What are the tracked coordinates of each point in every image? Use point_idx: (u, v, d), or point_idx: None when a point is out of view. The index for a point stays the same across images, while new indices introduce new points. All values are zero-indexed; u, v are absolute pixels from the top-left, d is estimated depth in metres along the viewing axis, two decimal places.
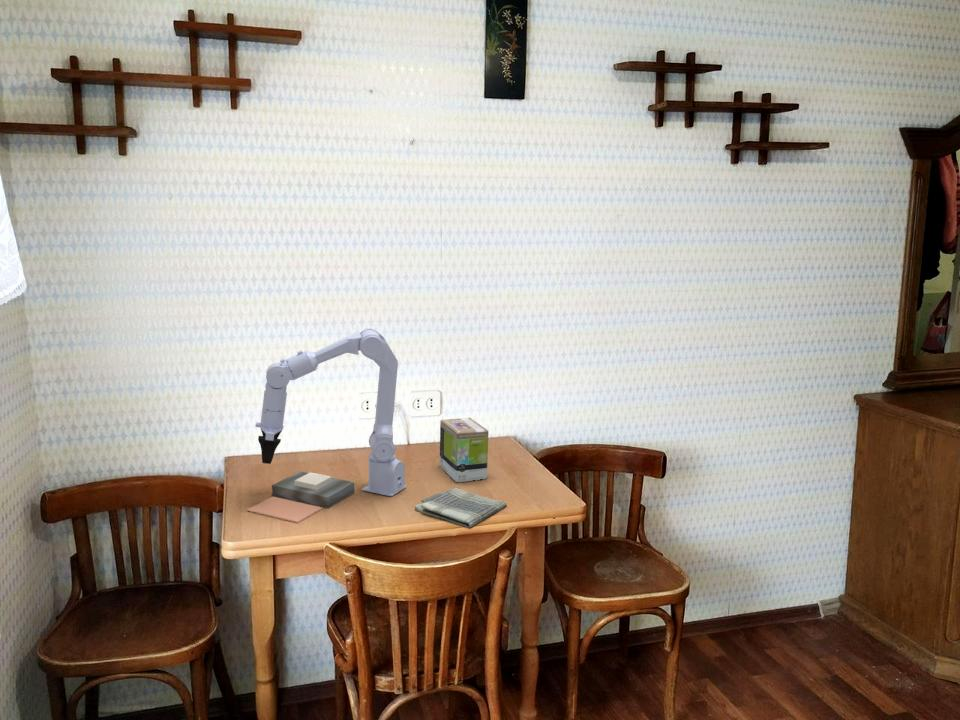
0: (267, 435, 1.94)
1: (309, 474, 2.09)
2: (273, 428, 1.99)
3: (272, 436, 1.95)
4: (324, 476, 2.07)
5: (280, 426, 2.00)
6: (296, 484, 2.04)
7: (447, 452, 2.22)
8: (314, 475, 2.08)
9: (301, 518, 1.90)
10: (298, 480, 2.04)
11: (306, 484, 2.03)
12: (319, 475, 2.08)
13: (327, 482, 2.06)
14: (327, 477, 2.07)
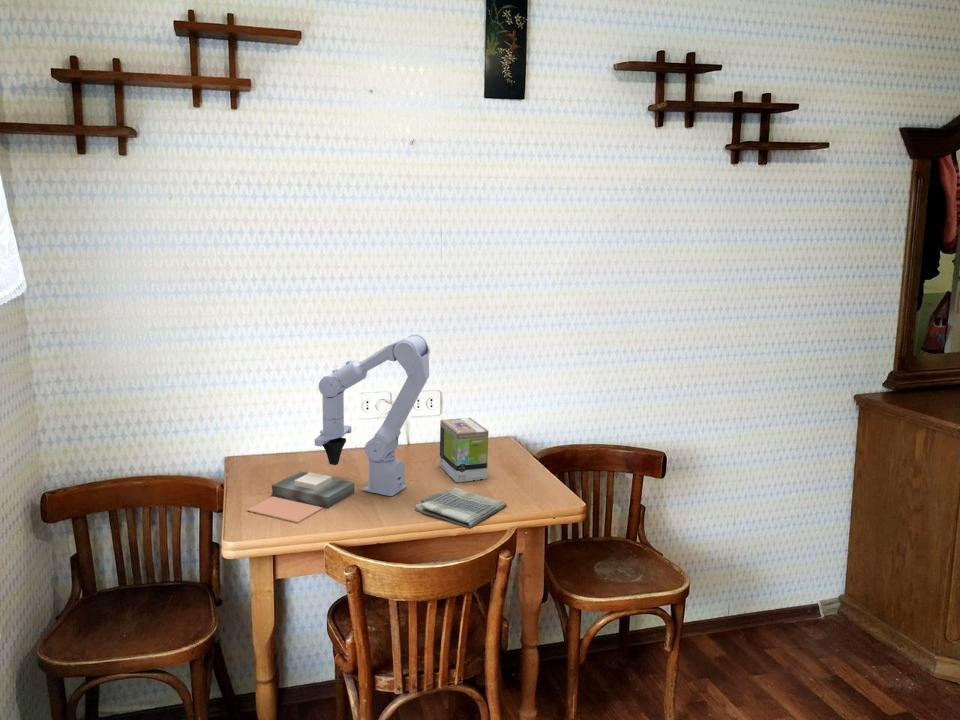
0: (315, 441, 2.06)
1: (309, 474, 2.09)
2: (329, 435, 2.09)
3: (319, 442, 2.06)
4: (324, 476, 2.07)
5: (336, 434, 2.10)
6: (296, 484, 2.04)
7: (447, 452, 2.22)
8: (314, 475, 2.08)
9: (301, 518, 1.90)
10: (298, 480, 2.04)
11: (306, 484, 2.03)
12: (319, 475, 2.08)
13: (327, 482, 2.06)
14: (327, 477, 2.07)
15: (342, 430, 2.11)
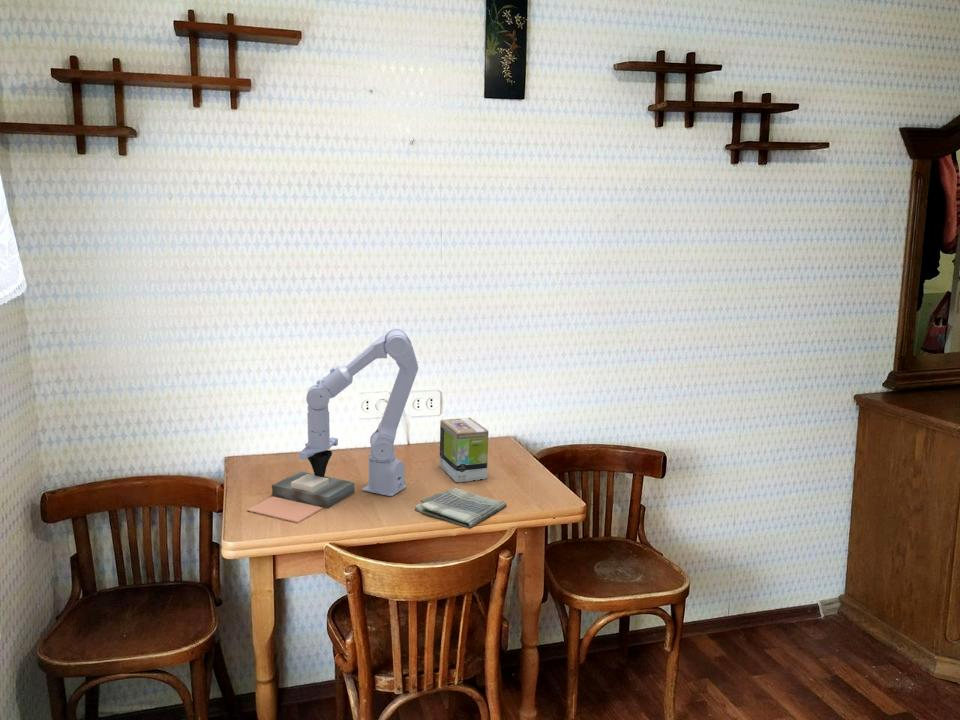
0: (300, 454, 2.00)
1: (306, 476, 2.07)
2: (314, 448, 2.04)
3: (304, 456, 2.00)
4: (321, 478, 2.06)
5: (322, 446, 2.04)
6: (292, 486, 2.03)
7: (447, 452, 2.22)
8: (311, 477, 2.07)
9: (301, 518, 1.90)
10: (294, 482, 2.03)
11: (303, 486, 2.01)
12: (316, 477, 2.07)
13: (324, 484, 2.04)
14: (324, 479, 2.05)
15: (328, 443, 2.05)
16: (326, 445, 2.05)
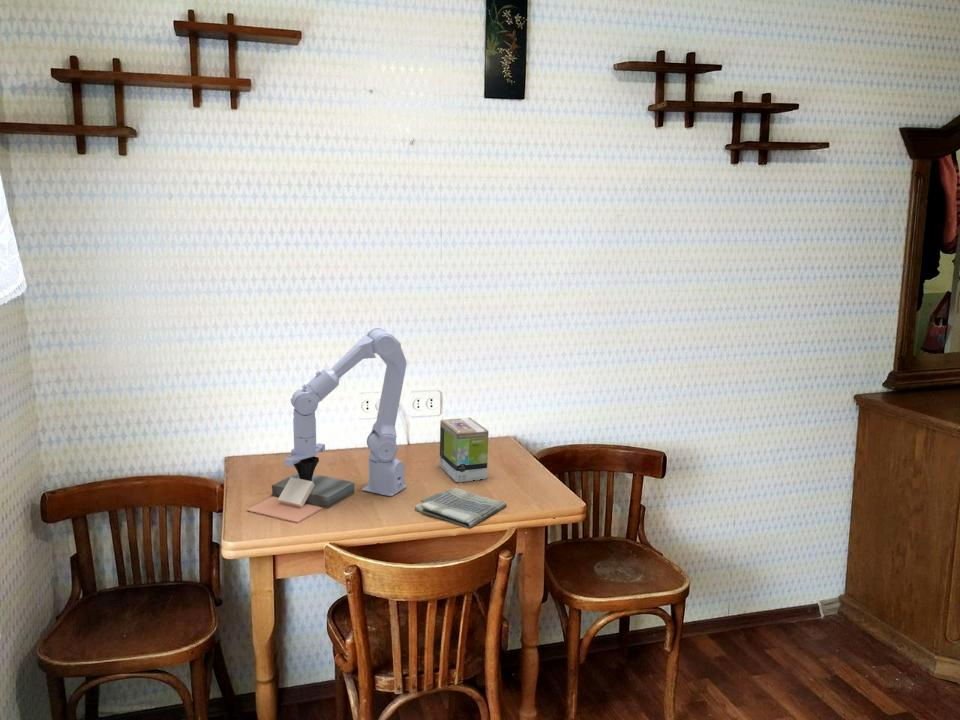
0: (285, 461, 1.95)
1: (290, 482, 2.01)
2: (300, 454, 1.98)
3: (289, 462, 1.95)
4: (305, 483, 2.00)
5: (308, 453, 1.99)
6: (281, 502, 1.99)
7: (447, 452, 2.22)
8: (295, 483, 2.01)
9: (301, 518, 1.90)
10: (281, 498, 1.98)
11: (290, 503, 1.97)
12: (300, 482, 2.01)
13: (310, 490, 1.99)
14: (308, 484, 1.99)
15: (314, 449, 2.00)
16: (312, 451, 2.00)
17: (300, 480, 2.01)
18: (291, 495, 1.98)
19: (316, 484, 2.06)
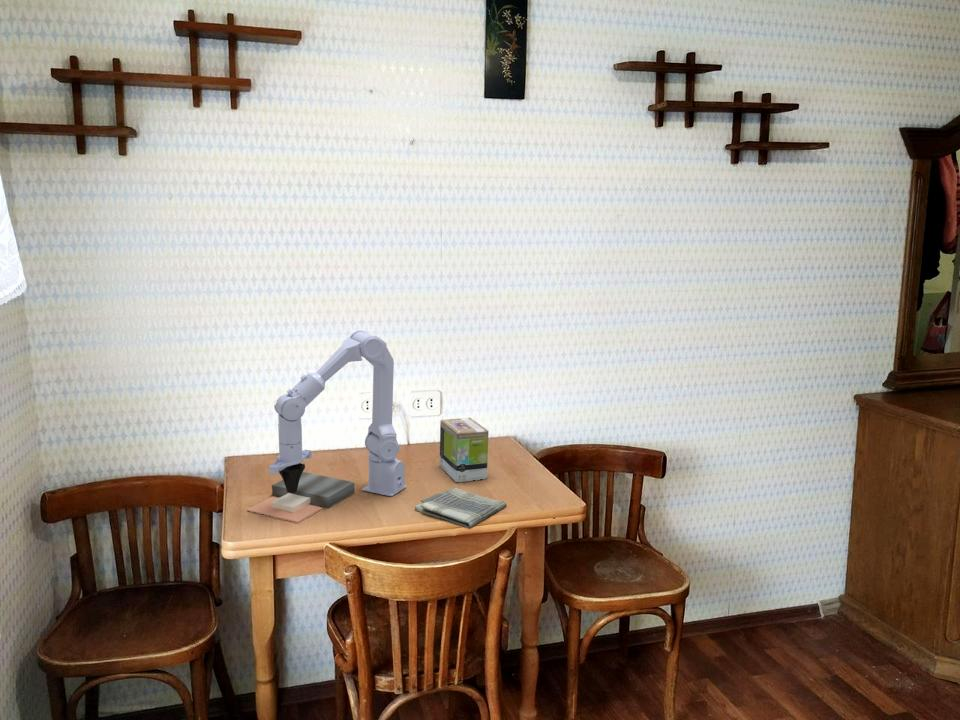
0: (270, 468, 1.90)
1: (287, 495, 2.01)
2: (285, 461, 1.93)
3: (274, 470, 1.89)
4: (303, 497, 1.99)
5: (293, 460, 1.94)
6: (273, 506, 1.96)
7: (447, 452, 2.22)
8: (292, 496, 2.00)
9: (301, 518, 1.90)
10: (275, 502, 1.96)
11: (283, 506, 1.95)
12: (297, 496, 2.00)
13: (305, 504, 1.98)
14: (305, 498, 1.99)
15: (300, 456, 1.95)
16: (298, 458, 1.94)
17: (298, 495, 2.01)
18: (286, 501, 1.96)
19: (316, 484, 2.06)
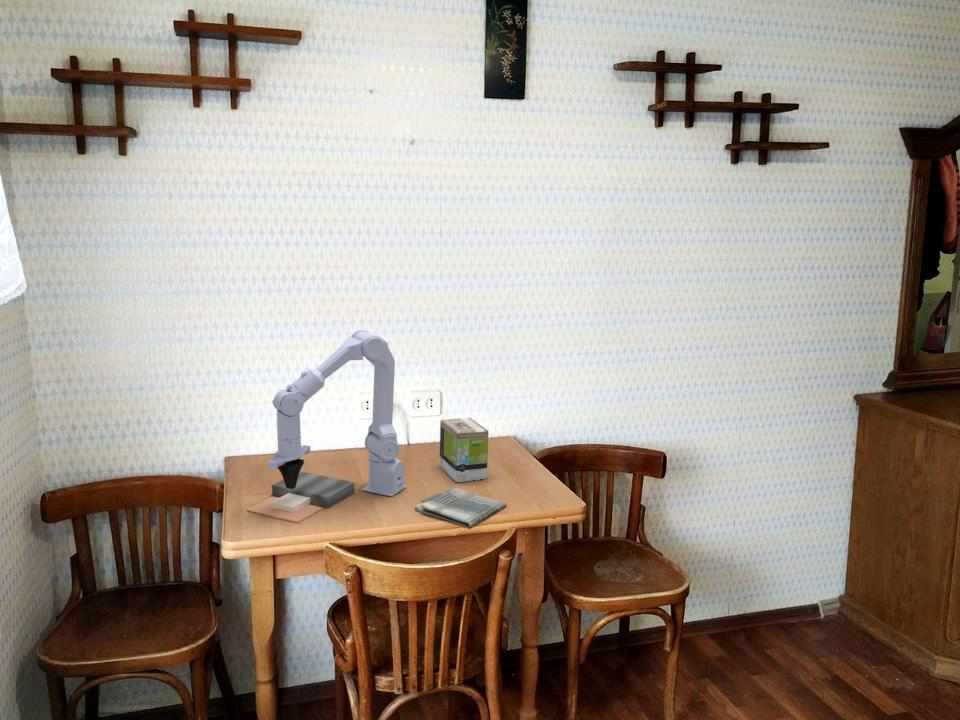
0: (269, 464, 1.89)
1: (287, 495, 2.01)
2: (284, 457, 1.92)
3: (273, 465, 1.89)
4: (303, 497, 1.99)
5: (292, 455, 1.93)
6: (273, 506, 1.96)
7: (447, 452, 2.22)
8: (292, 496, 2.00)
9: (301, 518, 1.90)
10: (275, 502, 1.96)
11: (283, 506, 1.95)
12: (297, 496, 2.00)
13: (305, 504, 1.98)
14: (305, 498, 1.99)
15: (299, 451, 1.94)
16: (297, 453, 1.94)
17: (298, 495, 2.01)
18: (286, 501, 1.96)
19: (316, 484, 2.06)
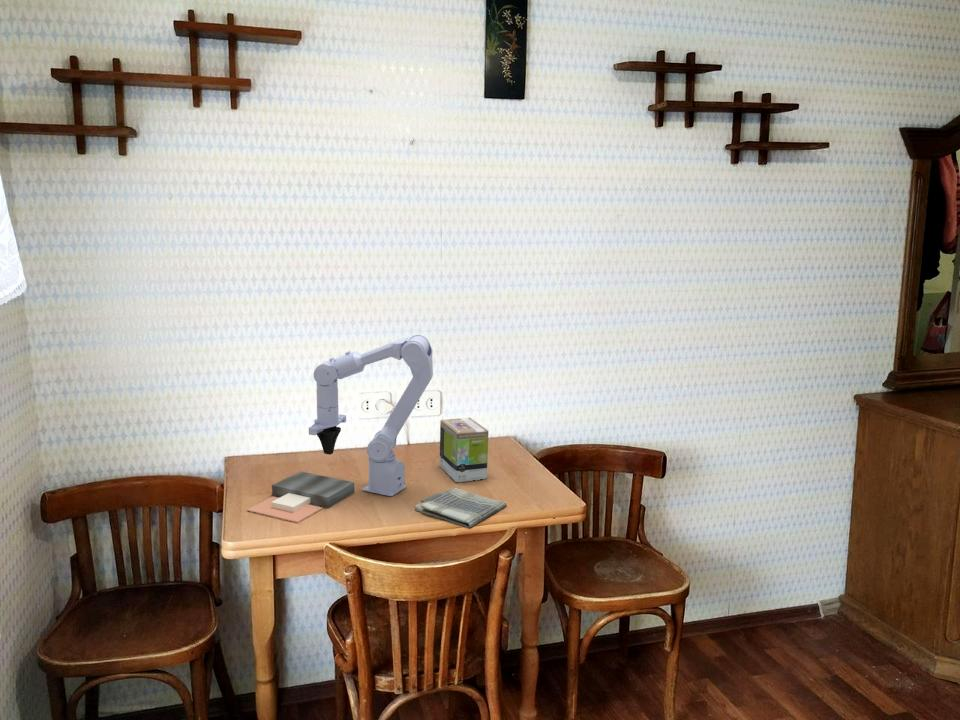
0: (309, 430, 2.03)
1: (287, 495, 2.01)
2: (323, 424, 2.06)
3: (313, 431, 2.03)
4: (303, 497, 1.99)
5: (331, 422, 2.07)
6: (273, 506, 1.96)
7: (447, 452, 2.22)
8: (292, 496, 2.00)
9: (301, 518, 1.90)
10: (275, 502, 1.96)
11: (283, 506, 1.95)
12: (297, 496, 2.00)
13: (305, 504, 1.98)
14: (305, 498, 1.99)
15: (337, 419, 2.08)
16: (335, 421, 2.07)
17: (298, 495, 2.01)
18: (286, 501, 1.96)
19: (316, 484, 2.06)
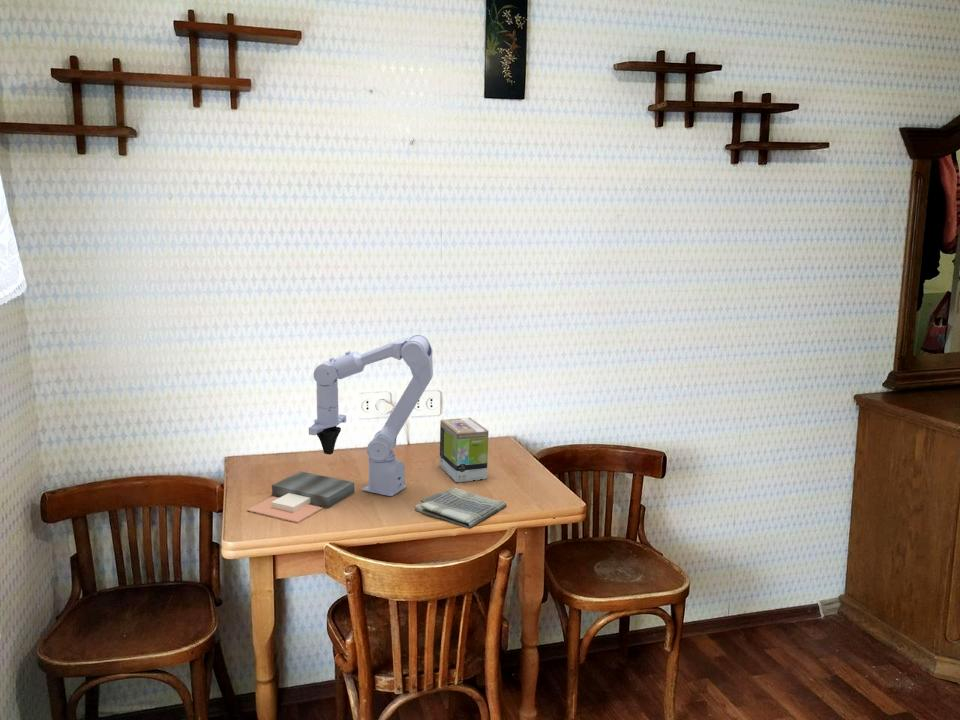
0: (309, 430, 2.03)
1: (287, 495, 2.01)
2: (323, 424, 2.06)
3: (313, 431, 2.03)
4: (303, 497, 1.99)
5: (331, 422, 2.07)
6: (273, 506, 1.96)
7: (447, 452, 2.22)
8: (292, 496, 2.00)
9: (301, 518, 1.90)
10: (275, 502, 1.96)
11: (283, 506, 1.95)
12: (297, 496, 2.00)
13: (305, 504, 1.98)
14: (305, 498, 1.99)
15: (337, 419, 2.08)
16: (335, 421, 2.07)
17: (298, 495, 2.01)
18: (286, 501, 1.96)
19: (316, 484, 2.06)
